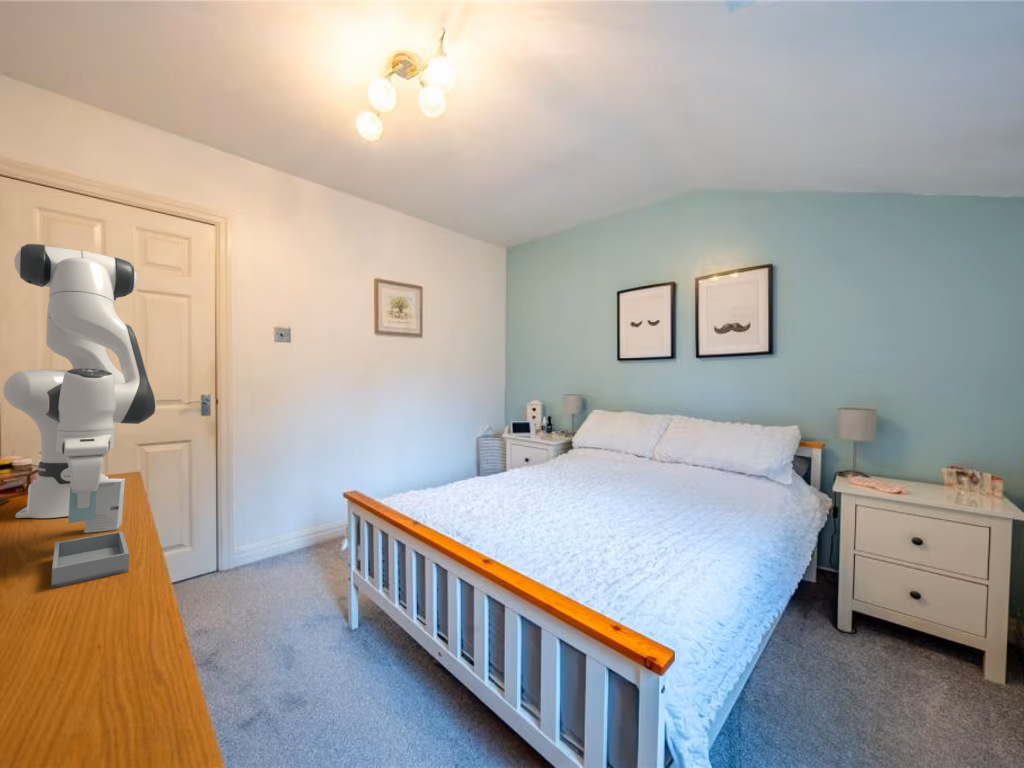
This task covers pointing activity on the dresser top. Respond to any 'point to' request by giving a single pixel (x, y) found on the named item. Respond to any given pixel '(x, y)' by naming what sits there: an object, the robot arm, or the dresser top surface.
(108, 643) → the dresser top surface
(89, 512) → the teal block
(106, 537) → the grey tray
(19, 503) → the dresser top surface
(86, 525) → the skincare box
